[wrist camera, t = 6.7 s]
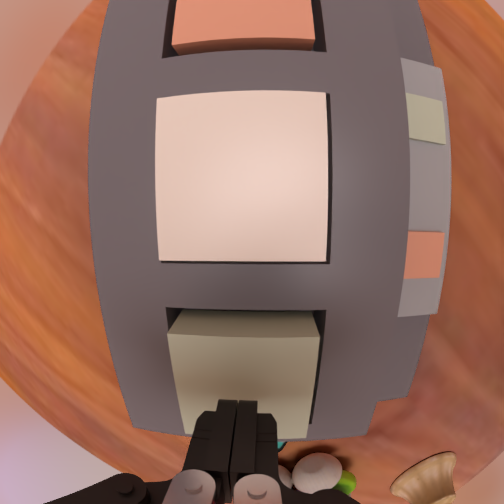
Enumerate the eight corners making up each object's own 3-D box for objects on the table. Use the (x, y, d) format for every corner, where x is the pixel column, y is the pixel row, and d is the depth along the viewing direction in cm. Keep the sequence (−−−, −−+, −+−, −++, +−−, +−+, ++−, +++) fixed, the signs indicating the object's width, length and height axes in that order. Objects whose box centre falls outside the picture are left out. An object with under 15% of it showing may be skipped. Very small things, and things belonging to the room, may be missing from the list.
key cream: (314, 110, 11) (325, 92, 9) (314, 247, 13) (325, 261, 10) (176, 113, 12) (156, 98, 9) (178, 246, 13) (159, 260, 10)
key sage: (311, 311, 13) (319, 336, 11) (301, 406, 14) (305, 438, 12) (183, 309, 14) (167, 333, 11) (195, 403, 15) (185, 433, 12)
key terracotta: (300, -20, 11) (304, -45, 8) (307, 61, 12) (315, 39, 9) (193, -15, 11) (183, -40, 8) (185, 65, 12) (171, 45, 10)
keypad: (408, -3, 11) (431, -31, 8) (402, 388, 17) (422, 423, 14) (144, -9, 12) (122, -39, 8) (152, 390, 18) (133, 427, 14)
